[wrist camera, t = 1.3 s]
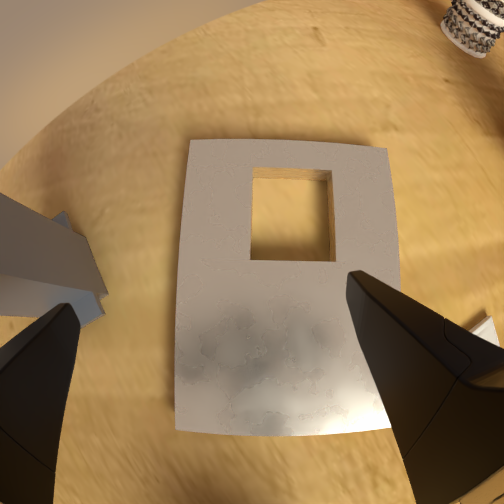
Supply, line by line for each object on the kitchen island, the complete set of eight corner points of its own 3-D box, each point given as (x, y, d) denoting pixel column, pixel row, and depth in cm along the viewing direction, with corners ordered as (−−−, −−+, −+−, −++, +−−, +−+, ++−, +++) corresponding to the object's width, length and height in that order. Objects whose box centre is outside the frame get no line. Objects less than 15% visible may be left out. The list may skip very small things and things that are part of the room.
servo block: (117, 314, 23) (-12, 306, 9) (78, 337, 23) (-52, 343, 9) (80, 220, 24) (-31, 151, 11) (45, 245, 24) (-69, 197, 10)
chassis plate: (383, 419, 21) (392, 426, 19) (181, 421, 21) (175, 429, 19) (379, 159, 25) (386, 148, 23) (194, 151, 25) (190, 139, 23)
